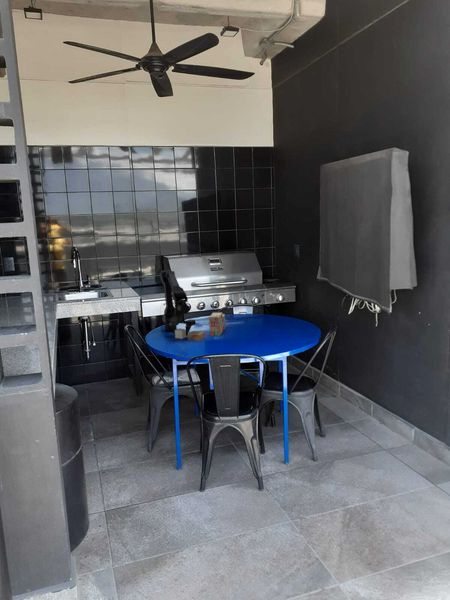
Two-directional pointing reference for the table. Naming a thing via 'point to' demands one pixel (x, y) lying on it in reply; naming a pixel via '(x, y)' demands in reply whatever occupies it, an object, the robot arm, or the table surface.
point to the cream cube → (180, 333)
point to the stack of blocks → (216, 324)
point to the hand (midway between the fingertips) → (180, 335)
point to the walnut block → (196, 336)
